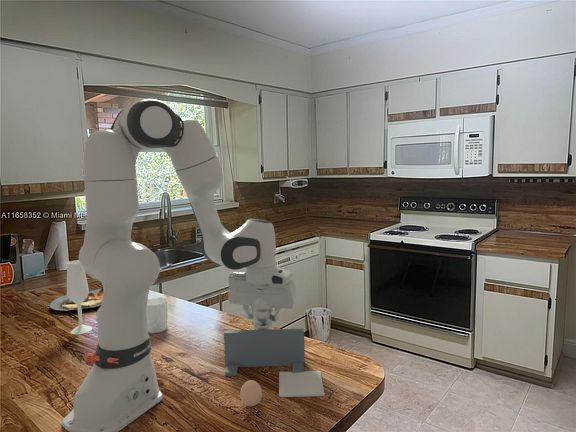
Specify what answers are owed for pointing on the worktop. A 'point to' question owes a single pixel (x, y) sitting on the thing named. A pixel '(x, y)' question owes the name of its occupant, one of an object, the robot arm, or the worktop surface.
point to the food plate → (91, 301)
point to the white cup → (157, 314)
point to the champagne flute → (77, 291)
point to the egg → (251, 393)
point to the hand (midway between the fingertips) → (262, 319)
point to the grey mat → (300, 384)
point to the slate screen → (264, 349)
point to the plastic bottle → (261, 313)
